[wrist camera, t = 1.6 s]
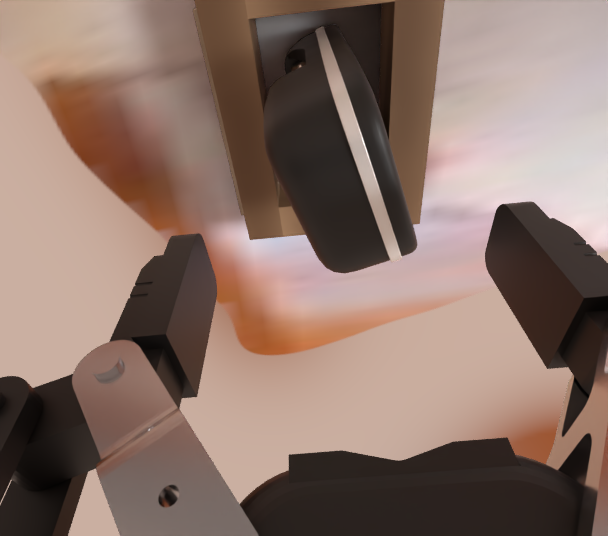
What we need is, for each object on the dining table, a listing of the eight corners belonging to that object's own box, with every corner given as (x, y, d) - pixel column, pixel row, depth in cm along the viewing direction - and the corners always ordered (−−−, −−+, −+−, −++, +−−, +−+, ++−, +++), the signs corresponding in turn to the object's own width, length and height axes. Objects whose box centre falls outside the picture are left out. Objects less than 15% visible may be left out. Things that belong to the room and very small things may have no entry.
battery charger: (262, 49, 19) (239, 139, 11) (334, 14, 18) (373, 80, 10) (314, 169, 24) (328, 303, 15) (375, 145, 23) (427, 273, 14)
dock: (430, -69, 17) (452, -71, 14) (407, 197, 25) (419, 223, 23) (194, -39, 17) (179, -36, 15) (249, 213, 25) (245, 240, 23)
